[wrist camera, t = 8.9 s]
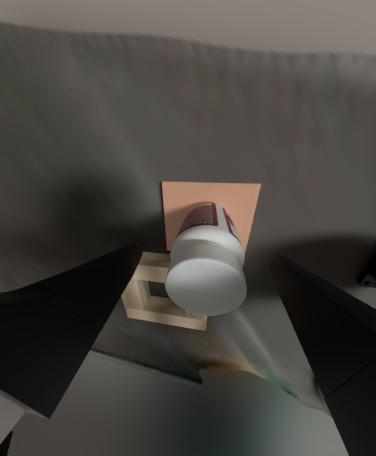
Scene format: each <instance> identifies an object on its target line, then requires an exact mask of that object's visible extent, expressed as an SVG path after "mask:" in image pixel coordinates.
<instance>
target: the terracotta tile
mask: <svg viewBox="0 0 376 456" xmlns="http://www.w3.org/2000/svg"><path fill="white" fill-rule="evenodd" d="M260 187H261V184H260V183H231V182H186V181H162V191H163V204H164V217H165V229H166V242H167V250H168V251H171V247H172V245H173V242H174V240H175V238H176V236H177V234H178V232H179V230H180V228H181V225H182V223H183V221H184V219H185V217H186V215H187V213H188V211H189V210H190V209H191V208H192V207H193V206H194V205H196V204H198V203H200V202H205V201H212V202H216V203H218V204H220V205H222V206H223V207H225V208H226V209H227V211H228V212H229V214H230V216H231V218H232V221H233V224H234V226H235V229H236V232H237V234H238V237H239V240H240V242H241V244H242V247H243V250H244V256H245V251H246V247H247V243H248V238H249V234H250V230H251V226H252V221H253V217H254V213H255V208H256V204H257V200H258V195H259V191H260Z"/></svg>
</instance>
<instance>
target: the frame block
mask: <svg viewBox="0 0 376 456" xmlns="http://www.w3.org/2000/svg"><path fill="white" fill-rule="evenodd" d="M170 263H171V260H170V254H162V253H152V252H143V255H142V257H141V260H140V262H139V264H138V266H137V269H136V271H135V273H134V275H133V277H132V278H131V280H130V282H129V283H128V285H127V287H126V289H125V290H124V292H123V294H122V295H121V296H122V300H123V303H124V306H125V309H126V312H127V316H128V318H134V319H140V320H145V321H151V322H157V323H163V324H169V325H174V326H180V327H186V328H192V329H197V330H203V331H206V324H207V316H204V315H197V314H194V313H191V312H188V311H186V310H184V309H182V308H180V307H179V306H178V305H176V304H175V303H174V302H173V301H172V300H171V299H170V298H165V297H158V296H151V295H150V290H149V284H148V281H154V282H162V283H165V278H166V275H167V272H168V269H169V266H170Z"/></svg>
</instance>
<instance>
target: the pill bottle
mask: <svg viewBox="0 0 376 456" xmlns="http://www.w3.org/2000/svg"><path fill="white" fill-rule="evenodd" d="M244 259H245V256H244V250H243V247H242V244H241V242H240V240H239V237H238V234H237V232H236V229H235V226H234V224H233V221H232V218H231V216H230V214H229V212H228V211H227V209H226V208H225V207H223V206H222V205H220V204H218V203H216V202H212V201H205V202H200V203H198V204H196V205H194V206H193V207H192V208H191V209H190V210H189V211H188V213H187V215H186V217H185V219H184V221H183V223H182V225H181V228H180V230H179V232H178V234H177V236H176V238H175V240H174V242H173V245H172V247H171V252H170V260H171V263H170V266H169V269H168V272H167V275H166V278H165V288H166V292H167V294H168V296H169V297H170V299H171V300H172V301H173V302H174V303H175V304H176V305H178V306H179V307H180V308H182V309H184V310H186V311H188V312H191V313H194V314H197V315H204V316H218V315H223V314H227V313H229V312H232V311H234V310H235V309H237V308H238V307H239V306H240V305H241V304H242V303H243V302H244V300H245V298H246V294H247V286H246V281H245V277H244V273H243V270H242V268H243V265H244Z"/></svg>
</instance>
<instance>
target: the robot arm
mask: <svg viewBox="0 0 376 456" xmlns="http://www.w3.org/2000/svg"><path fill="white" fill-rule="evenodd" d="M142 255H143V251H142V245H141V243H137V242H135V243H132V244H130V245H128V246H125V247H123V248H120V249H118V250H116V251H113V252H111V253H109V254H106V255H104V256H101V257H99V258H97V259H94V260H92V261H90V262H87V263H85V264H83V265H80V266H78V267H75V268H73V269H70V270H68V271H65V272H63V273H60V274H58V275H55V276H52V277H50V278H47V279H44V280H42V281H39V282H36V283H33V284H31V285H28V286H25V287H23V288H20V289H17V290H13V291H9V292H3V293H0V456H7V453H8V449H9V445H10V441H11V437H12V433H13V431H11V429H12V428H13V426H14V425H15V424H16V423H17V421H18V420H19V419H20V417H21V416H22V415H23V413H24V412H27V413H30V414H33V415H36V416H40V417H43V418H47V419H49V418H50V417H51V415H52V414H53V412H54V411H55V409H56V407H57V406H58V404H59V402H60V400H61V399H62V397H63V395H64V393H65V392H66V390H67V388H68V387H69V385H70V383H71V382H72V380H73V378H74V376H75V375H76V373H77V371H78V370H79V368H80V366H81V364H82V363H83V361H84V359H85V358H86V356H87V354H88V352H89V351H90V349H91V347H92V345H93V344H94V342H95V340H96V338H97V337H98V335H99V333H100V332H101V330H102V328H103V326H104V325H105V323H106V321H107V319H108V318H109V316H110V314H111V313H112V311H113V309H114V307H115V306H116V304H117V302H118V301H119V299H120V297H121V295H122V294H123V292H124V290H125V289H126V287H127V285H128V283H129V282H130V280H131V278H132V277H133V275H134V273H135V271H136V269H137V266H138V264H139V262H140V260H141V257H142ZM271 271H272V274H273V278H274V281H275V284H276V287H277V290H278V293H279V295H280V298H281V300H282V302H283V304H284V307H285V309H286V311H287V314H288V316H289V318H290V321H291V323H292V325H293V327H294V330H295V332H296V334H297V337H298V339H299V341H300V344H301V346H302V348H303V350H304V353H305V355H306V357H307V360H308V362H309V364H310V367H311V369H312V371H313V373H314V376H315V378H316V380H317V383H318V385H319V387H320V390H321V392H322V394H323V396H324V397H325V398H324V399H325V401H326V404H327V406H328V408H329V411H330V413H331V415H332V417H333V420H334V422H335V424H336V427H337V429H338V431H339V434H340V436H341V438H342V440H343V443H344V445H345V447H346V450H347V452H348V454H349V456H376V309H375V308H373V307H371V306H369V305H367V304H366V303H364V302H362V301H360V300H359V299H357V298H354V297H353V296H352V295H350V294H348V293H346V292H345V291H343V290H341V289H340V288H338V287H336V286H334V285H333V284H331V283H329V282H327V281H326V280H324V279H322V278H320V277H319V276H317V275H315V274H313V273H312V272H310V271H308V270H306V269H305V268H303V267H301V266H299V265H298V264H296V263H294V262H293V261H291V260H289V259H287V258H286V257H284V256H281V255H275V256H274V257H273V260H272V263H271ZM357 282H358V283H359V284H360V285H362V286H365V287H374V288H376V256H375V257H374V259H373V260H372V261H371V263H370V264H369V265H368V266H367V268H366V269H365V270H364V272H363V273H362V274H361V276H360V277H359V278H358V280H357Z"/></svg>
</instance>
